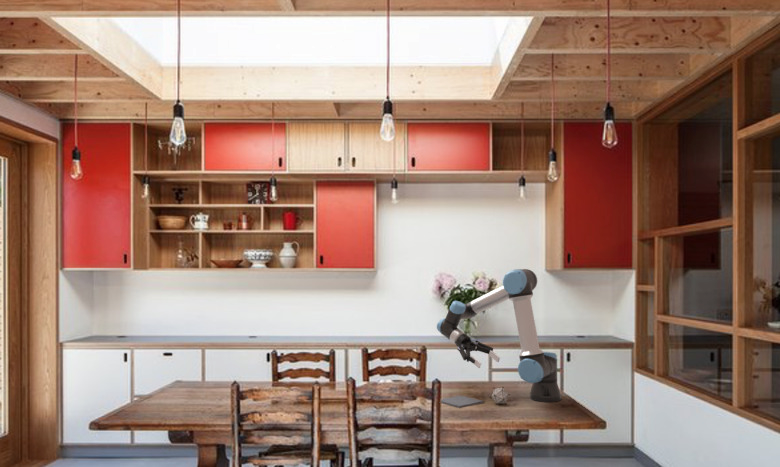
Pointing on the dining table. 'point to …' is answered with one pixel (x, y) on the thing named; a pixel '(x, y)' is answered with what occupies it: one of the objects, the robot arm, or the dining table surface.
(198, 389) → the dining table surface
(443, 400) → the mat
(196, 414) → the dining table surface
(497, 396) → the game die
